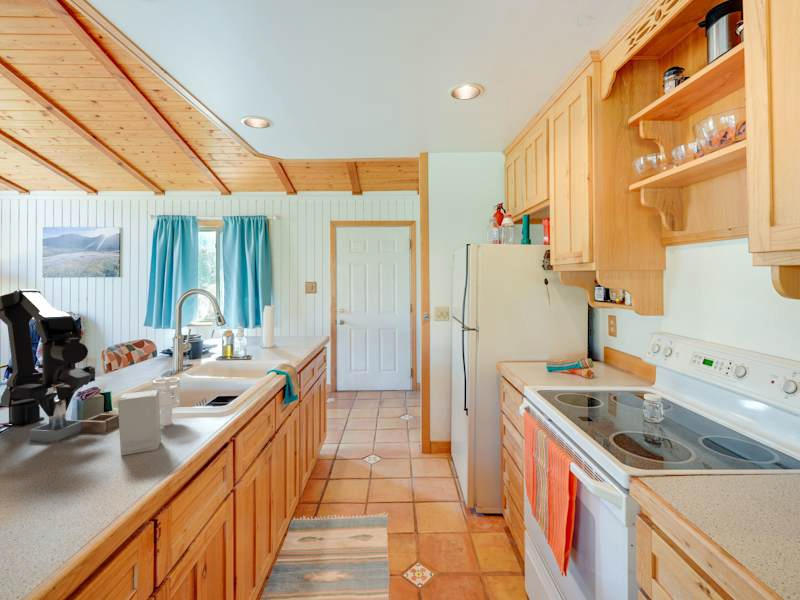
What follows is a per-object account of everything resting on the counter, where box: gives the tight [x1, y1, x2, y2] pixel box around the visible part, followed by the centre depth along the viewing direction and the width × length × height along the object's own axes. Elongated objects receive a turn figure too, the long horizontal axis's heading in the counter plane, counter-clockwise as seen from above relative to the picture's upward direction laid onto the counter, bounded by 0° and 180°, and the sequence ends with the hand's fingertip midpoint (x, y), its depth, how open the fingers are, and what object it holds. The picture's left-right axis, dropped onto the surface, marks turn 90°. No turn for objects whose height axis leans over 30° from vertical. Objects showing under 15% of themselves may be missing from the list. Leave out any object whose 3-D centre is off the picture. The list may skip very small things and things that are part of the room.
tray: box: [29, 419, 84, 443], centre depth 102 cm, size 8×8×3 cm
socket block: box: [81, 413, 119, 433], centre depth 108 cm, size 7×7×3 cm
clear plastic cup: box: [152, 376, 181, 427], centre depth 112 cm, size 7×7×15 cm
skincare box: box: [117, 389, 162, 456], centre depth 95 cm, size 8×6×15 cm
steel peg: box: [48, 398, 67, 430], centre depth 102 cm, size 4×4×8 cm
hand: (57, 414), depth 102 cm, fingers closed on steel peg, 3 cm apart
